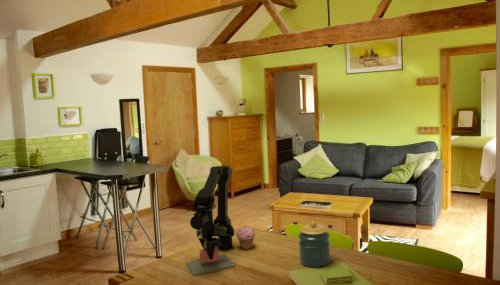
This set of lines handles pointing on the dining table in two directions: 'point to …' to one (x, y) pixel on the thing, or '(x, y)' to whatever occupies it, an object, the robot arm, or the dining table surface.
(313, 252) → the canister
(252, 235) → the cupcake
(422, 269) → the dining table surface
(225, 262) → the mat
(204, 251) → the red block
